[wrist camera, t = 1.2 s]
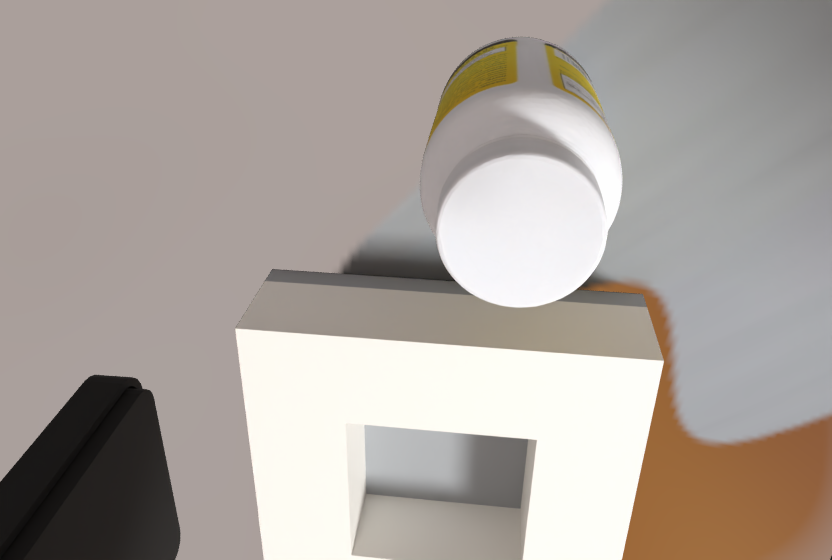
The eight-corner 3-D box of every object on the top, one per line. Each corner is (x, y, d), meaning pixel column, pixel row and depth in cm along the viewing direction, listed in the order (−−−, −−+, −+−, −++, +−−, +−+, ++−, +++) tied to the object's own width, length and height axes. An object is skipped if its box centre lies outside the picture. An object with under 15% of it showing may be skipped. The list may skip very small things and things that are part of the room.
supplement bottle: (429, 174, 27) (389, 311, 18) (453, 22, 24) (419, 97, 16) (575, 200, 27) (604, 350, 18) (616, 49, 24) (672, 140, 15)
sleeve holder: (642, 293, 28) (663, 360, 24) (593, 558, 35) (603, 644, 31) (272, 269, 29) (235, 328, 25) (296, 528, 36) (269, 606, 32)
